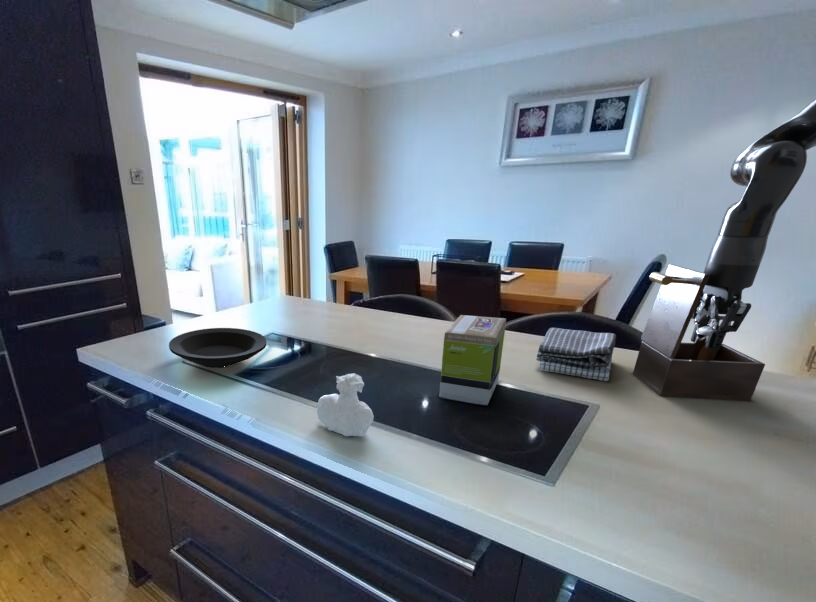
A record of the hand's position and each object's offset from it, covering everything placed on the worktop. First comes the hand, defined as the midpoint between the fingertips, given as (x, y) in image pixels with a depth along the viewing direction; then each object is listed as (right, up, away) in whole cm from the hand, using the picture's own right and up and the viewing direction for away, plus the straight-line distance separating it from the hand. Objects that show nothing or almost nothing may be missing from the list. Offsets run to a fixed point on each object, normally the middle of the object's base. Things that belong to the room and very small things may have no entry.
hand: (704, 345), depth 90 cm
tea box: (-46, -9, +6) cm, 48 cm away
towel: (-17, -4, +17) cm, 24 cm away
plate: (-105, -2, +27) cm, 109 cm away
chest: (0, -8, +4) cm, 9 cm away
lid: (-7, +7, -1) cm, 10 cm away
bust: (-75, -16, -8) cm, 77 cm away
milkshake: (0, -5, +2) cm, 6 cm away
